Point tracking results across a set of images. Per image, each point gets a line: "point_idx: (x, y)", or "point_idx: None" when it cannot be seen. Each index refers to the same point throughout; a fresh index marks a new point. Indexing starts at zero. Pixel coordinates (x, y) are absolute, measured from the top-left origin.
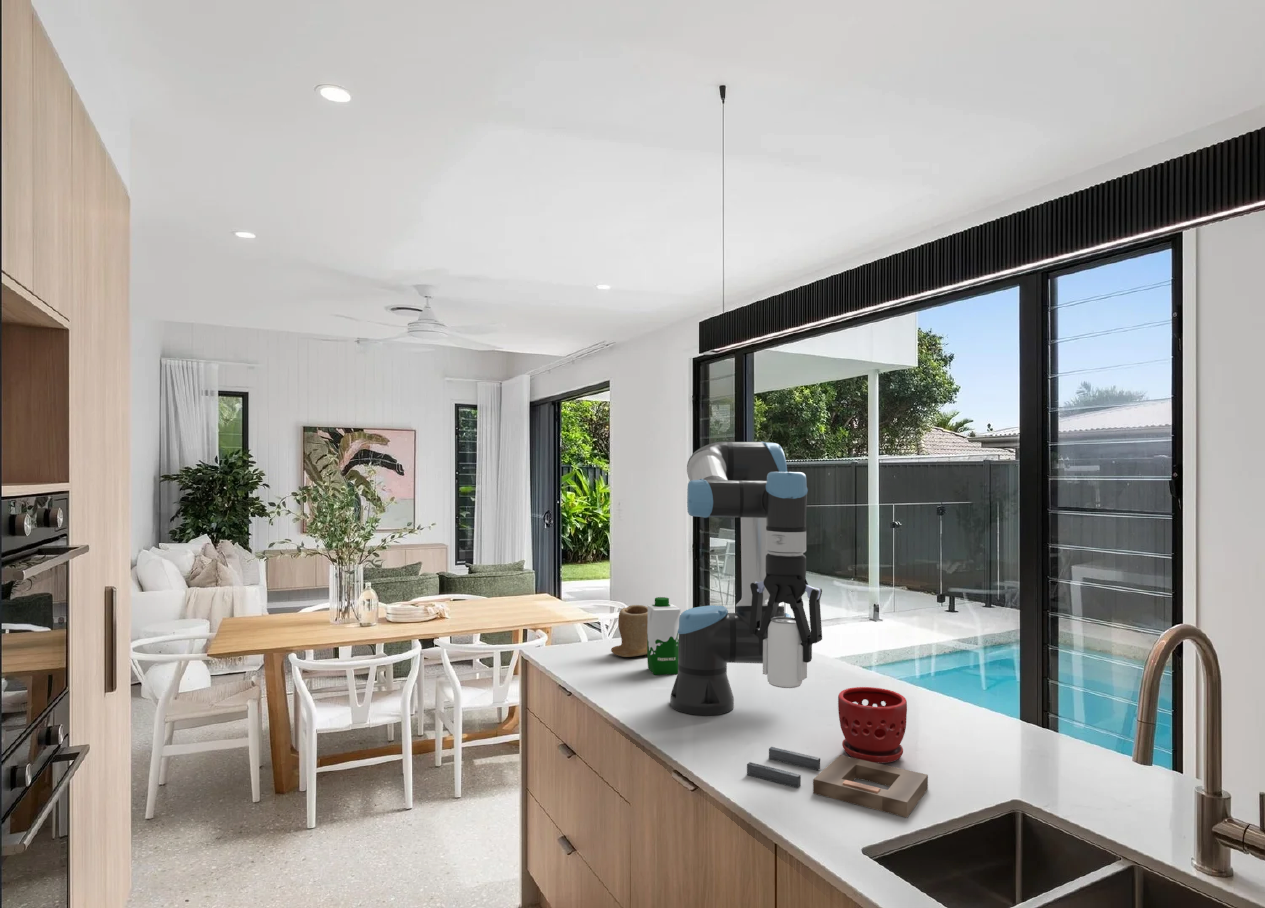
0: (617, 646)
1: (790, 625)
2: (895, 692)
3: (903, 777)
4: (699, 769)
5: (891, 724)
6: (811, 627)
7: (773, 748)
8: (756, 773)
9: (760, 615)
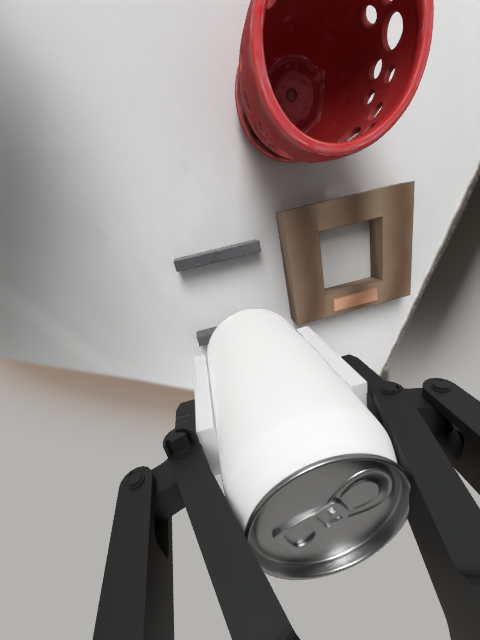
0: None
1: (378, 527)
2: None
3: (388, 223)
4: (144, 373)
5: (329, 2)
6: (472, 480)
7: (181, 265)
8: None
9: (152, 570)
